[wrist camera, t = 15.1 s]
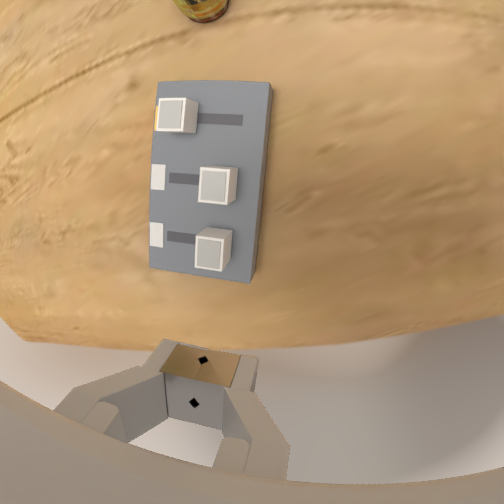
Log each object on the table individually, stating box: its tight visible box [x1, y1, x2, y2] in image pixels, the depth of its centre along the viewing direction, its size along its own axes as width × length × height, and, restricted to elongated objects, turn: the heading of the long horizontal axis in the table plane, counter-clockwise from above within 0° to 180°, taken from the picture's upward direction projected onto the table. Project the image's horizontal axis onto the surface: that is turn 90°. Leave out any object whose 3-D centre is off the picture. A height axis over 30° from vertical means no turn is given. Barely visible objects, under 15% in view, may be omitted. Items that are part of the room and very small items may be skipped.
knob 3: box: [195, 227, 233, 272], centre depth 35 cm, size 3×4×4 cm
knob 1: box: [156, 98, 199, 133], centre depth 31 cm, size 3×4×4 cm
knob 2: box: [198, 165, 238, 205], centre depth 33 cm, size 3×4×4 cm
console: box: [149, 80, 273, 284], centre depth 37 cm, size 13×23×4 cm, turn 175°
